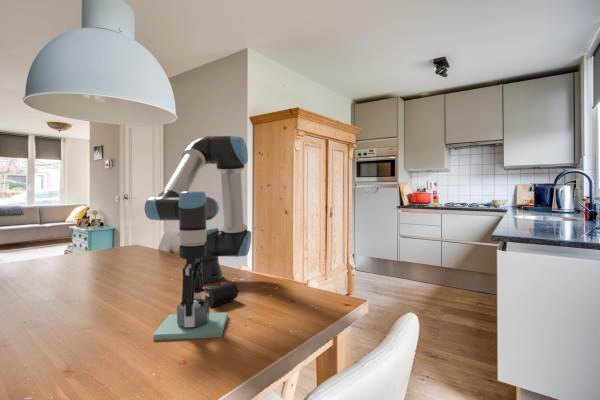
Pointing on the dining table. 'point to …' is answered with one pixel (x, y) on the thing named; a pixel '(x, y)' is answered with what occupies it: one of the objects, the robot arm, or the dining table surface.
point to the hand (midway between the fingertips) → (193, 319)
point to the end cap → (221, 293)
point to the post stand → (207, 330)
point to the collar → (200, 313)
